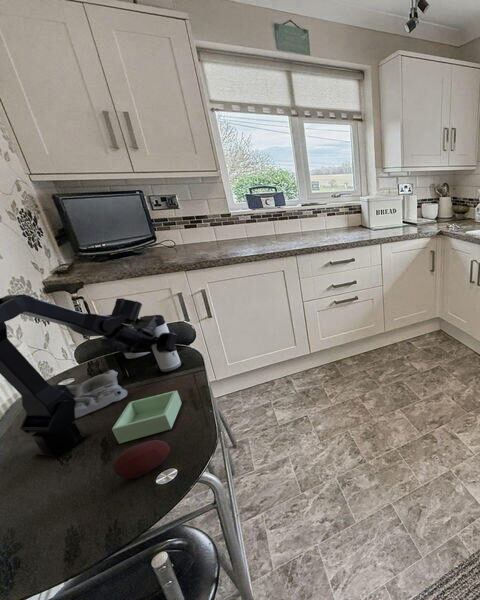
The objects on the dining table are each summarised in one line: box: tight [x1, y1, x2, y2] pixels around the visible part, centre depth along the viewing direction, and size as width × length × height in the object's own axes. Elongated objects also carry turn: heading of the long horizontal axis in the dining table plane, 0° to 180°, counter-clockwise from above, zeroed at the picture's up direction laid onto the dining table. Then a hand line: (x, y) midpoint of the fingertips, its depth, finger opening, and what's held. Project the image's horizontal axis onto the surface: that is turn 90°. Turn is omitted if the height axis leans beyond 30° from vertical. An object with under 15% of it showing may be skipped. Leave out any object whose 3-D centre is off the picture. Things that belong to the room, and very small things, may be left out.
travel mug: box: [139, 314, 182, 373], centre depth 113 cm, size 6×7×20 cm
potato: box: [113, 439, 171, 480], centre depth 73 cm, size 7×10×6 cm
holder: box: [111, 390, 183, 444], centre depth 88 cm, size 12×12×5 cm
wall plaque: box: [66, 369, 128, 419], centre depth 103 cm, size 24×19×4 cm
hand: (167, 349), depth 115 cm, fingers closed on travel mug, 6 cm apart
